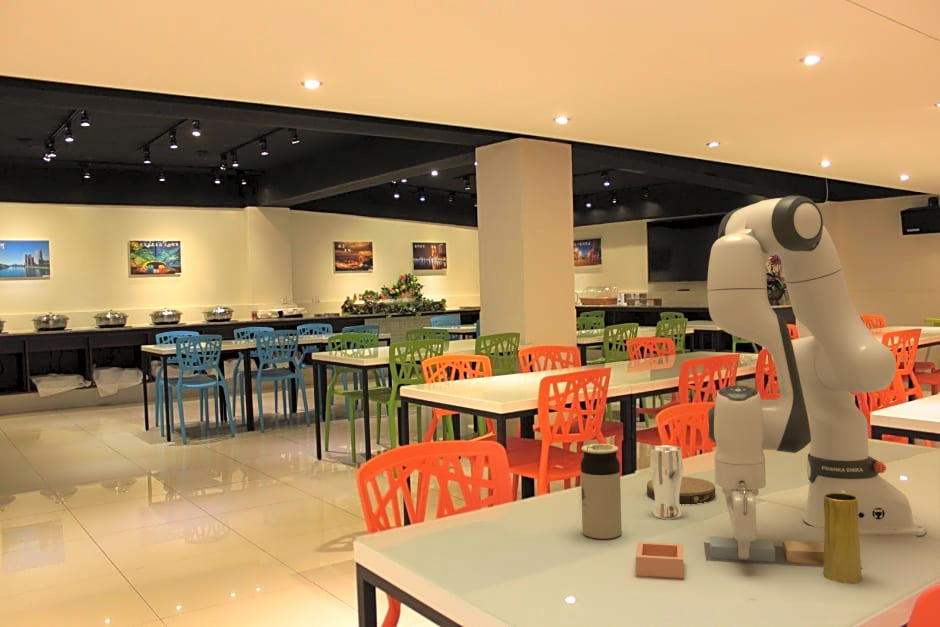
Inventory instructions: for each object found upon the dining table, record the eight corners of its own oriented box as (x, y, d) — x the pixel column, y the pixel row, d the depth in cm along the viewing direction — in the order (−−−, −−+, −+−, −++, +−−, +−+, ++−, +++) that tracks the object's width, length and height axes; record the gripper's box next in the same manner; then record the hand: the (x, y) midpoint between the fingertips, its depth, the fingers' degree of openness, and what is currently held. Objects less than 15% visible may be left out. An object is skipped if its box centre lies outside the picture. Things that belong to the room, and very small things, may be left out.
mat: (849, 553, 142) (849, 549, 142) (862, 572, 133) (862, 569, 133) (703, 545, 149) (703, 542, 149) (706, 563, 139) (705, 560, 139)
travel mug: (624, 529, 160) (621, 444, 160) (618, 541, 153) (616, 452, 152) (586, 526, 163) (584, 442, 162) (579, 538, 155) (576, 450, 155)
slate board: (771, 551, 143) (771, 539, 143) (775, 561, 137) (775, 549, 137) (709, 548, 146) (709, 536, 145) (711, 558, 140) (711, 546, 140)
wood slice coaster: (714, 489, 190) (713, 477, 190) (716, 507, 175) (716, 494, 175) (648, 487, 195) (648, 475, 194) (645, 504, 179) (645, 491, 179)
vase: (815, 574, 133) (813, 492, 132) (849, 572, 133) (847, 490, 133) (835, 587, 126) (833, 502, 126) (870, 585, 127) (869, 500, 127)
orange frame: (683, 566, 138) (682, 544, 138) (684, 582, 131) (683, 559, 131) (638, 563, 140) (637, 541, 140) (636, 579, 133) (635, 556, 133)
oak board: (847, 555, 139) (847, 543, 139) (854, 566, 134) (854, 553, 134) (783, 552, 142) (782, 540, 142) (787, 562, 137) (787, 550, 137)
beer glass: (685, 520, 165) (683, 451, 165) (651, 519, 166) (650, 451, 166) (682, 511, 172) (681, 445, 171) (650, 510, 173) (649, 444, 173)
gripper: (764, 490, 130) (766, 570, 131) (752, 463, 150) (754, 533, 150) (725, 489, 132) (727, 568, 132) (718, 462, 152) (720, 531, 152)
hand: (741, 549), depth 141 cm, fingers open, 7 cm apart
